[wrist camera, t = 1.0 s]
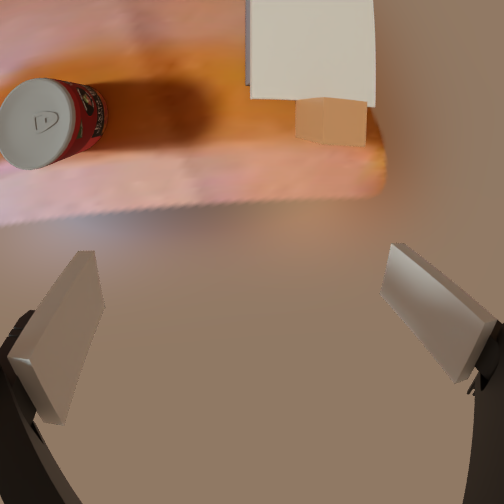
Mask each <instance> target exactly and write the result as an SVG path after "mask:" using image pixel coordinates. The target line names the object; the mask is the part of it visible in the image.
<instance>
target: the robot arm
mask: <svg viewBox="0 0 504 504" xmlns="http://www.w3.org/2000/svg"><path fill="white" fill-rule="evenodd" d="M380 295H381V296H382V297H383V298H384V299H385V301H386V302H387V303H388V304H389V305H390V306H391V307H392V309H393V310H394V311H395V312H396V313H397V315H398V316H399V317H400V318H401V319H402V320H403V321H404V323H405V324H406V325H407V326H408V327H409V329H410V330H411V331H412V332H413V333H414V334H415V336H416V337H417V338H418V339H419V340H420V342H421V343H422V344H423V345H424V346H425V347H426V349H427V350H428V351H429V352H430V354H431V355H432V356H433V357H434V359H435V360H436V361H437V362H438V364H439V365H440V366H441V367H442V369H443V370H444V371H445V372H446V374H447V375H448V376H449V377H450V379H451V380H452V381H453V382H454V384H456V383H458V382H461V381H463V380H466V379H468V378H469V376H470V374H471V372H472V370H473V369H474V367H476V368H477V370H478V371H479V372H478V374H477V376H476V377H475V379H474V381H473V383H472V384H471V386H470V388H469V389H468V392H467V394H470V392H471V391H472V389H475V391H474V393H473V396H475V408H474V426H473V438H472V447H471V457H470V464H469V471H468V477H467V484H466V489H465V494H464V499H463V504H504V323H503V324H502V323H501V322H499V321H498V320H497V319H496V318H495V317H494V316H493V315H492V314H490V313H489V312H488V311H487V310H486V309H485V308H484V307H483V306H481V305H480V304H479V303H478V302H477V301H476V300H475V299H473V298H472V297H471V296H470V295H469V294H468V293H466V292H465V291H464V290H463V289H461V288H460V287H459V286H458V285H457V284H455V283H454V282H453V281H452V280H450V279H449V278H448V277H447V276H446V275H444V274H443V273H442V272H441V271H439V270H438V269H437V268H436V267H434V266H433V265H432V264H431V263H429V262H428V261H427V260H425V259H424V258H423V257H422V256H420V255H419V254H418V253H416V252H415V251H414V250H412V249H411V248H410V247H408V246H407V245H406V244H404V243H392V244H391V248H390V252H389V257H388V262H387V266H386V270H385V275H384V279H383V283H382V287H381V291H380ZM104 309H105V304H104V299H103V295H102V290H101V285H100V280H99V275H98V269H97V264H96V257H95V251H78V252H77V253H76V255H75V256H74V257H73V259H72V260H71V261H70V262H69V264H68V265H67V266H66V268H65V269H64V271H63V272H62V273H61V275H60V276H59V277H58V279H57V280H56V282H55V283H54V284H53V286H52V287H51V289H50V290H49V291H48V293H47V294H46V296H45V297H44V299H43V300H42V302H41V303H40V305H39V306H38V308H37V309H36V310H29V311H28V312H27V313H25V314H24V315H23V316H22V317H21V318H19V320H18V322H17V323H16V325H15V326H14V329H12V330H11V332H10V333H9V337H7V338H6V340H5V341H4V343H3V345H2V346H1V348H0V495H1V498H2V500H3V502H4V504H82V503H81V501H80V500H79V498H78V497H77V495H76V494H75V492H74V491H73V489H72V488H71V486H70V485H69V483H68V481H67V480H66V478H65V476H64V475H63V473H62V472H61V470H60V468H59V467H58V465H57V463H56V461H55V460H54V458H53V456H52V454H51V452H50V451H49V449H48V447H47V445H46V443H45V441H44V439H43V438H42V435H41V433H40V431H39V429H38V427H37V426H36V424H35V423H34V421H33V419H34V416H35V413H36V411H37V413H38V414H39V416H40V417H41V419H42V420H43V422H45V423H51V424H56V425H65V421H66V418H67V414H68V411H69V407H70V404H71V401H72V398H73V395H74V391H75V388H76V385H77V382H78V379H79V376H80V373H81V370H82V367H83V364H84V362H85V359H86V356H87V353H88V350H89V348H90V345H91V342H92V340H93V337H94V334H95V332H96V329H97V326H98V324H99V321H100V319H101V316H102V314H103V311H104Z"/></svg>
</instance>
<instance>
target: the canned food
mask: <svg viewBox="0 0 504 504" xmlns="http://www.w3.org/2000/svg"><path fill="white" fill-rule="evenodd" d="M107 120H108V109H107V104H106V102H105V100H104V98H103V96H102V95H101V94H100V93H99V92H98V91H97V90H96V89H94V88H92V87H90V86H86V85H81V84H77V83H72V82H67V81H61V80H56V79H49V78H36V79H31V80H28V81H25V82H23V83H22V84H20V85H18V86H17V87H16V88H14V89H13V90H12V91H11V92H10V94H9V95H8V96H7V97H6V99H5V100H4V102H3V103H2V105H1V108H0V152H1V154H2V155H3V157H4V158H5V159H6V160H7V161H8V162H9V163H10V164H11V165H13V166H15V167H17V168H20V169H23V170H33V169H39V168H42V167H45V166H48V165H50V164H53V163H55V162H58V161H60V160H62V159H65V158H67V157H70V156H72V155H75V154H77V153H80V152H82V151H85V150H87V149H88V148H90V147H92V146H93V145H94V144H95V143H96V142H97V141H98V140H99V139H100V137H101V136H102V134H103V132H104V131H105V128H106V125H107Z"/></svg>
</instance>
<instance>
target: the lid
mask: <svg viewBox="0 0 504 504" xmlns="http://www.w3.org/2000/svg"><path fill="white" fill-rule="evenodd" d="M250 99H274V100H296V124H295V137H297V138H301V139H304V140H308V141H311V142H315V143H318V144H322V145H339V146H356V147H365V145H366V125H367V107H375V101H376V100H375V99H376V49H375V23H374V5H373V0H250Z"/></svg>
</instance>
